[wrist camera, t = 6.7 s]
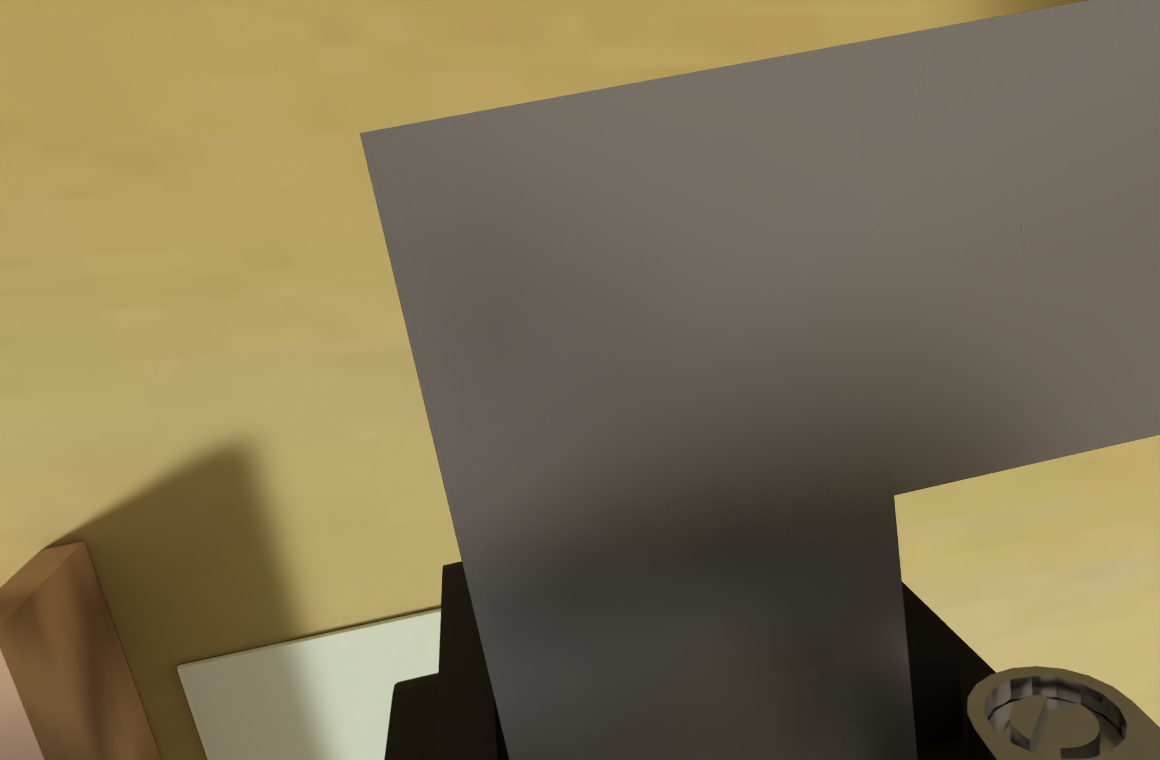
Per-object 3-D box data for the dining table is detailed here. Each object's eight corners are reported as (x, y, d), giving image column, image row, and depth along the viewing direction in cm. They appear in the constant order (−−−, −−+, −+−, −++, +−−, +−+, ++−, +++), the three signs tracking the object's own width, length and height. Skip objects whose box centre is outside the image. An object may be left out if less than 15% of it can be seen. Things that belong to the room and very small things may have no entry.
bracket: (409, 146, 10) (360, 132, 5) (1143, 11, 11) (1715, -115, 6) (568, 857, 12) (637, 1294, 8) (1148, 708, 13) (1541, 1023, 8)
